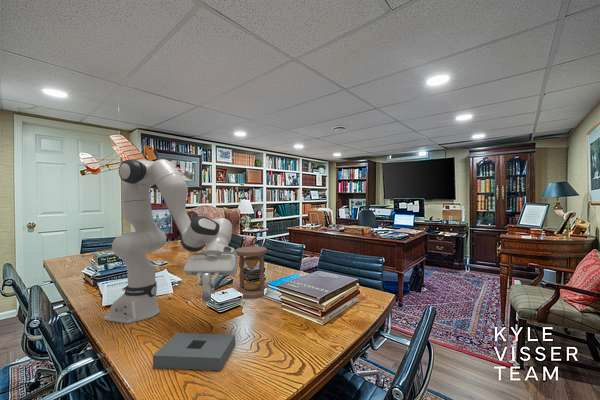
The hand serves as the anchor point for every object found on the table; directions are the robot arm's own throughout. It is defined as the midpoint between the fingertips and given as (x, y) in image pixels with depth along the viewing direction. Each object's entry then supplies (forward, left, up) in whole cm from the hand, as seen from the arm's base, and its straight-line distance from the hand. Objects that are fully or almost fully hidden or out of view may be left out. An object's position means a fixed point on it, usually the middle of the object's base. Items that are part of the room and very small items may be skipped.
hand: (205, 284), depth 97 cm
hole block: (0, -8, -22) cm, 23 cm away
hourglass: (+3, +52, -22) cm, 57 cm away
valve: (-12, +38, -22) cm, 45 cm away
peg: (0, +1, -6) cm, 6 cm away
